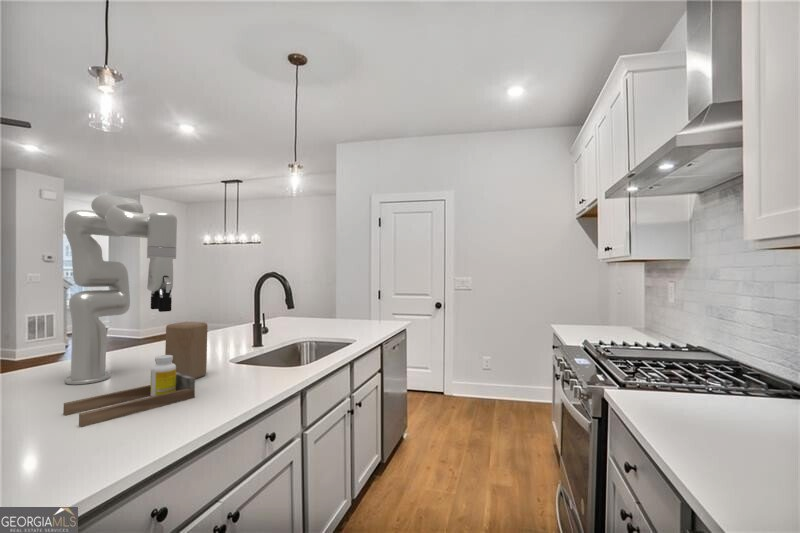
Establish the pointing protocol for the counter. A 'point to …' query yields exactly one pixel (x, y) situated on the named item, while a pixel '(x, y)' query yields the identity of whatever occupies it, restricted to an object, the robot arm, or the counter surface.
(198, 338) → the block
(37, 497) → the counter surface
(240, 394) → the counter surface
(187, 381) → the shelf lane
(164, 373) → the supplement bottle
